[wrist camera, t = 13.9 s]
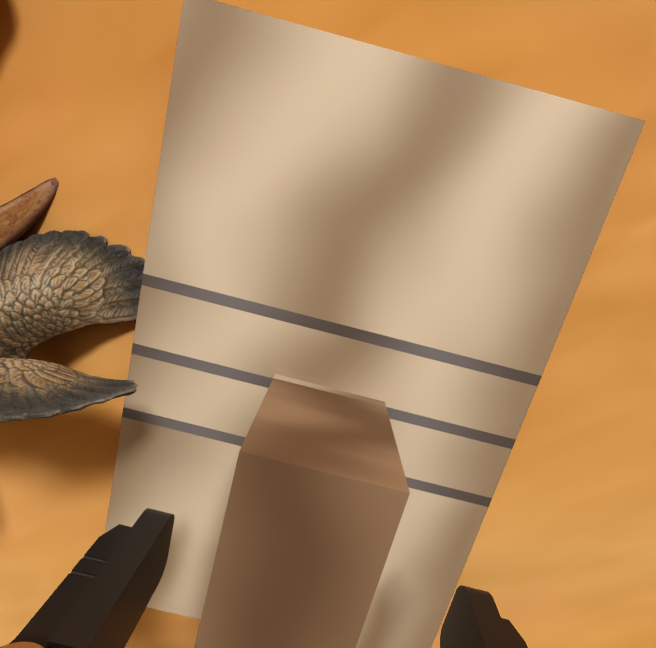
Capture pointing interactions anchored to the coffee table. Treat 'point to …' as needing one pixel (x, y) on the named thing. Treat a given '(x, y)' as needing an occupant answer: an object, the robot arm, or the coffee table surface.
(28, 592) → the coffee table surface
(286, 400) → the block
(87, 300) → the eagle figurine
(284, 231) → the birch board
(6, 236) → the lashed bone hook
